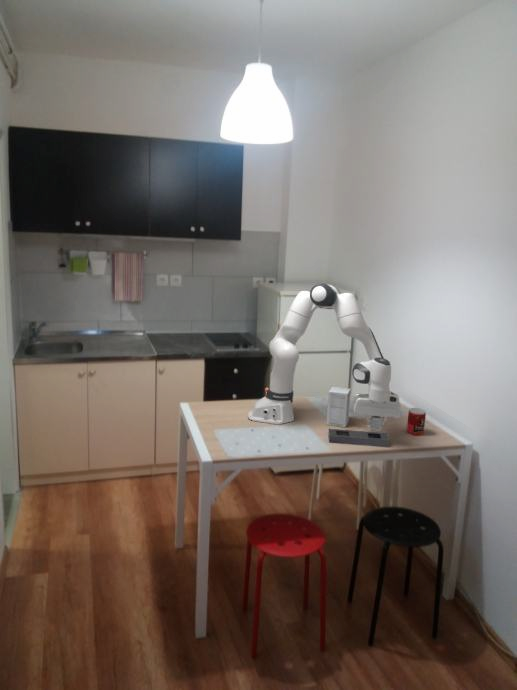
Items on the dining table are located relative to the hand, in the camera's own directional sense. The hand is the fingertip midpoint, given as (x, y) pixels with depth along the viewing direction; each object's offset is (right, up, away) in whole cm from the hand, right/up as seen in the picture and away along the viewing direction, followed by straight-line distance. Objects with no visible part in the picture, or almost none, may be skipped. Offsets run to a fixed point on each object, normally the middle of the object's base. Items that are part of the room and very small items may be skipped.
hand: (375, 424), depth 254 cm
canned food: (+22, -6, +16) cm, 27 cm away
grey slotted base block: (-7, -7, +2) cm, 11 cm away
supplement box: (-14, -3, +23) cm, 27 cm away
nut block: (0, -2, 0) cm, 2 cm away
